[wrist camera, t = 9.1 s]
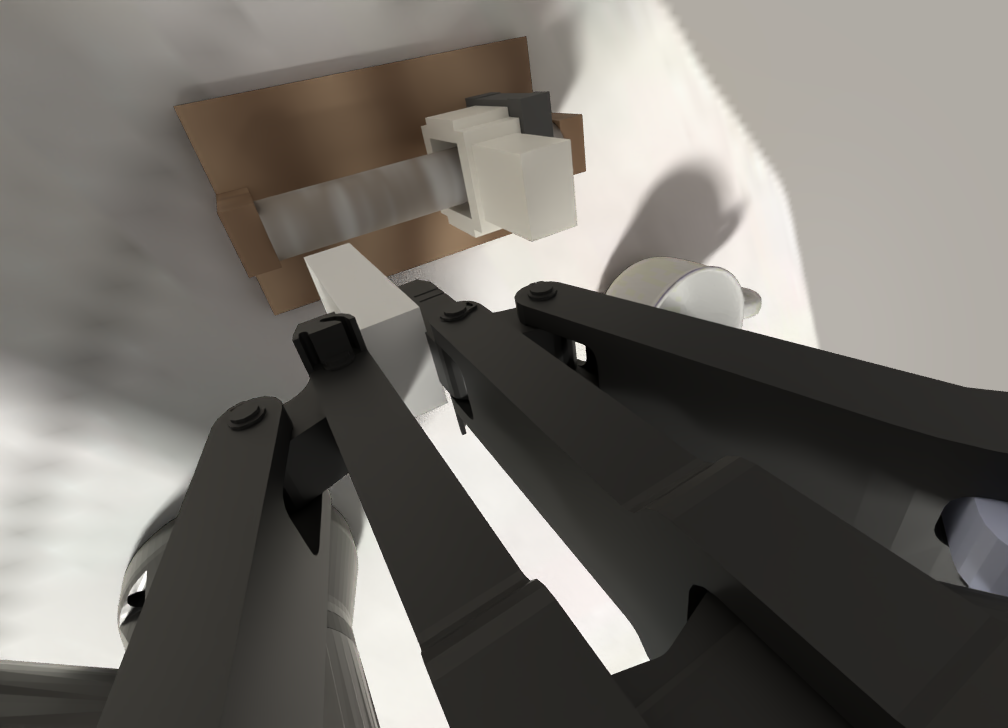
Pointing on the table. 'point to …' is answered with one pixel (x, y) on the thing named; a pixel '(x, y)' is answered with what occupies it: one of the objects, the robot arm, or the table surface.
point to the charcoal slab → (521, 109)
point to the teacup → (687, 290)
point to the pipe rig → (350, 164)
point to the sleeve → (506, 173)
